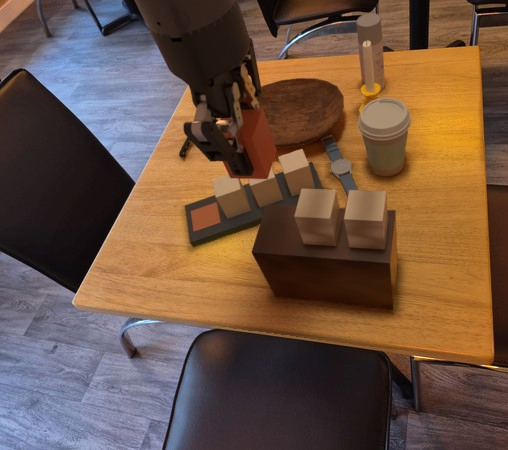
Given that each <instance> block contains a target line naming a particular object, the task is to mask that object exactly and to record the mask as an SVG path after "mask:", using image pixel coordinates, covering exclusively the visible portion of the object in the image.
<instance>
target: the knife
mask: <svg viewBox="0 0 508 450" xmlns="http://www.w3.org/2000/svg"><path fill="white" fill-rule="evenodd" d="M191 143H192V141H191V140H190V139H189V138H188V137H187V136H186V139H185V141H184V142H183V144H182V146H181V148H180V150H179V153H178V156H179V158H181V159H182V158H186V154H187V152H188V150H189V148H190V146H191Z"/></svg>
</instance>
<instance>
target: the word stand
mask: <svg viewBox="0 0 508 450" xmlns="http://www.w3.org/2000/svg"><path fill="white" fill-rule="evenodd" d="M346 200H347V201H346V206H345V207H341V206H340V202H339V198H338V193H337V190H336V189H330V188H329V189H325V188H323V189H301V193H300V197H299V201H298V204H297V206H282V205H266V207H265V211H264V214H263V217H262V220H261V223H260V224H259V227H258V230H257V232H256V236H255V240H254V243H253V246H252V250H251V251H250V252H251V254H252V256H253V259H254V260H255V262H256V264H257V266H258V267H259V269H260V272H261V273H262V275H263V277H264V279H265V280H266V282H267V284H268V286H269V288H270V291H271V292H272V294H273V296H274V297H275V298H281V299H291V300H301V301H307V302H308V301H310V302H320V303H328V304H329V303H330V304H339V305H348V306H357V307H366V308H367V307H368V308H375V309H377V308H378V309H386V310H394V307H395V306H394V305H395V297H396V296H395V295H396V285H397V273H398V263H399V255H398V234H397V232H398V231H397V230H398V229H397V210H394V209H388V197H387V191H386V190H361V189H358V190H349V194H348V195H347V199H346Z"/></svg>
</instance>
